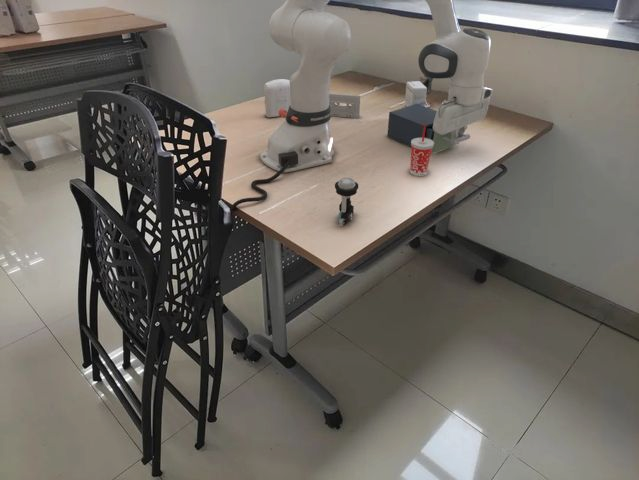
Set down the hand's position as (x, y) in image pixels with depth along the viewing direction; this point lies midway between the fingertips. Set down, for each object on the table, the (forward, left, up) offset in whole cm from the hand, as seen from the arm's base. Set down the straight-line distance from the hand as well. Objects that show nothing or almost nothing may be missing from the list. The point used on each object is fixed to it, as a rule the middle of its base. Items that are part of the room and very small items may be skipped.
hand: (456, 140), depth 133 cm
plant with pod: (+25, +35, -5) cm, 43 cm away
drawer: (0, +7, -3) cm, 8 cm away
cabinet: (0, +14, -4) cm, 15 cm away
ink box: (+12, +27, -5) cm, 30 cm away
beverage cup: (-17, -2, -5) cm, 18 cm away
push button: (-49, -8, -5) cm, 50 cm away
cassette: (-6, +44, -5) cm, 45 cm away
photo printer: (-23, +59, -5) cm, 64 cm away
